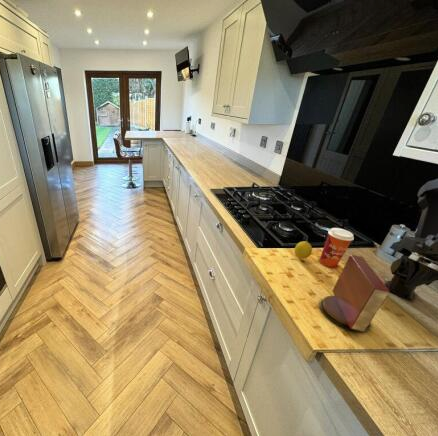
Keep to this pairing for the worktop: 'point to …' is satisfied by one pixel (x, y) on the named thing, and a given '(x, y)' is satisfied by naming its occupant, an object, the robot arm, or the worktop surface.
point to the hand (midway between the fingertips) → (407, 287)
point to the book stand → (356, 295)
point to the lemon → (303, 250)
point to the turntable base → (337, 321)
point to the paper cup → (335, 246)
